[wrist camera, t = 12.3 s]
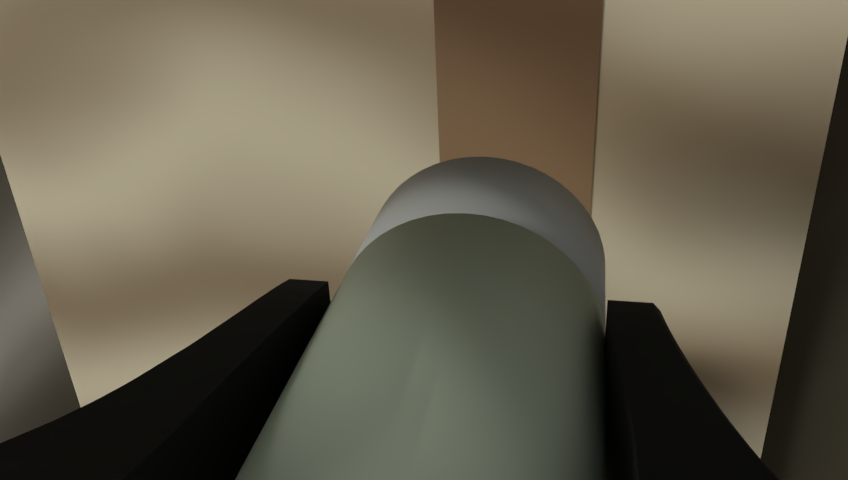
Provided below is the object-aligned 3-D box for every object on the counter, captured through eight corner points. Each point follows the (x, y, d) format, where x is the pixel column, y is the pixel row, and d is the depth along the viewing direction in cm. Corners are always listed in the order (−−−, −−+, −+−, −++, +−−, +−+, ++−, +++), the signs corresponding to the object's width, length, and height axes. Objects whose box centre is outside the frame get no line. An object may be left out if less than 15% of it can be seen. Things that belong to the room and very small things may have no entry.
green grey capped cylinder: (598, 370, 14) (593, 792, 8) (378, 352, 15) (227, 726, 9) (613, 160, 12) (622, 510, 6) (361, 152, 13) (153, 456, 7)
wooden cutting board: (724, 558, 25) (731, 600, 24) (137, 486, 29) (115, 519, 27) (842, -51, 16) (863, -37, 15) (-16, -39, 20) (-59, -27, 19)
